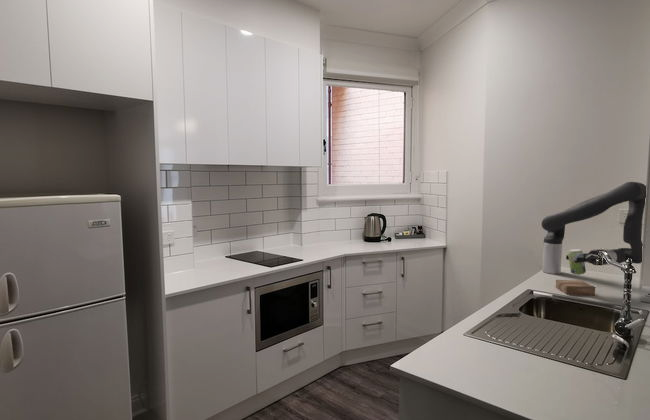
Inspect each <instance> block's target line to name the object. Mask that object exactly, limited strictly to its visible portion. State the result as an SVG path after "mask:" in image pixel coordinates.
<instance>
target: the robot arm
mask: <svg viewBox="0 0 650 420" xmlns="http://www.w3.org/2000/svg"><path fill="white" fill-rule="evenodd" d="M646 187H647V185H646V184H644V183H642V182H638V181H627V182H625V183H623V184H621V185H619V186H617V187H615V188H614V189H611V190H610V191H607V192H605V193H602V194H600V195H599V194H598V195H597V196H594V197H591V198H589V199H587V200H584V201H582V202H579V203H577V204H576V205H574V206H573V205H572V206H570V207H569V208H567V209H565V210H563V211H560V212H557V213H555V214H551V215H548V216H545V217H543V219H542V221H541V228H542V229H543V230H544V231H546V232H547V233H546V235H545V236H544V238H543V251H542V272H543V273H545V274H552V275H558V274H559V275H560V274H561V273H562V258H563V257H562V255H563V241H564V239H565V233H566V232H565V231H566V225H568V224H572V223H577V222H580V221H581V222H582V221H584V220H588V219H591V218H593V217H594V218H595V217H596V216H598V215H602V214H603V213H605V212H606V211H608V210H609V209H610V208H612V207H615V206H617V205H619V204H622V203H627V202H628V211H627V215H626V218H625V221H624V225H623V235H622V240H623V242H624V243H625V244H629V246H630V248H629V247H620V248H617V249H616V248H613V249H608V248H603V249H601V248H599V249H592V250H589V252H583V256H584V257H581V258H577V262H585V264H586V263H587V264H592V265H593V266H597V265H596V259H597V255H598V253H599V251H605V252H607V253H608V254H609V255H610V257H611V258H612V259H613V260H614V261H616V262H618V263H619V264H623V263H627V262H626V260H627V259H628V258H631V259H632V263H631V264H635V265H640V264H642V263H643V262H642V246H643V247H644V244H643V241H642V236H643V235H642V232H643V219H644V217H643V216H644V212H645V206H646V203H645V198H646ZM565 260H568V261H569V257H568V254H566V255H565ZM641 262H642V263H641ZM608 265H610V264H608V263H607V262H606V260H605V259H604V258H603V265H602V266H608Z"/></svg>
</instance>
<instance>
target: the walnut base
mask: <svg viewBox="0 0 650 420" xmlns="http://www.w3.org/2000/svg"><path fill="white" fill-rule="evenodd" d="M555 289H557V290H559V291H560V292H561V293H563V294H565V295H567V296H568V295H569V296H586V297H587V296H590V297H595V296H596V287H595V286H594V285H591V284H590V283H588V282H585V281H584V280H573V279H572V280H569V279H556V280H555Z"/></svg>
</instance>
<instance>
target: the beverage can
mask: <svg viewBox="0 0 650 420" xmlns="http://www.w3.org/2000/svg"><path fill="white" fill-rule="evenodd" d="M583 253H584V251H582V249H581V248H571V249H569V250H568V252H567V255H568V257H569V260H568V262H569V269H570V273H572V274H573V275H577V276H580V275H584V274H585V273H586V272H587V269H586V262H577V258H581V257H584V256H583Z"/></svg>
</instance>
